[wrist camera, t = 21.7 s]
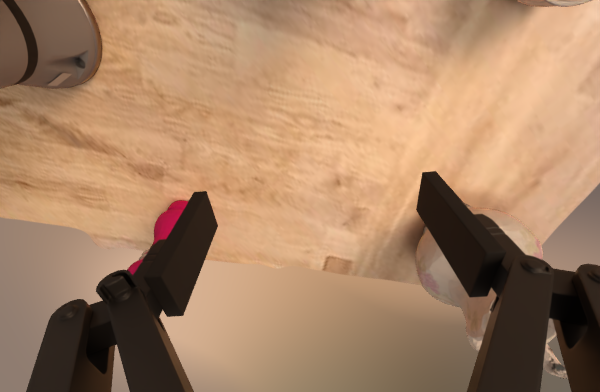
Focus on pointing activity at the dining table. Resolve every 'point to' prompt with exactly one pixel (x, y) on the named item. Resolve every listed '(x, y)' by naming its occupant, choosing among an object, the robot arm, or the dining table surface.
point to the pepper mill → (163, 227)
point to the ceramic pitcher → (477, 309)
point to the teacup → (553, 2)
